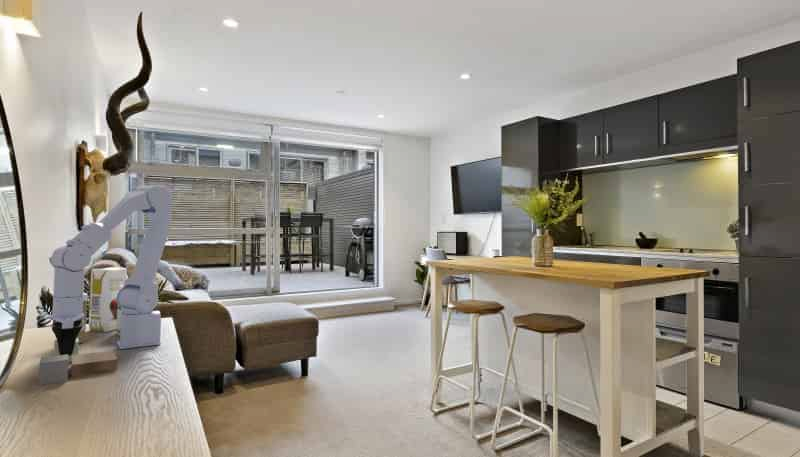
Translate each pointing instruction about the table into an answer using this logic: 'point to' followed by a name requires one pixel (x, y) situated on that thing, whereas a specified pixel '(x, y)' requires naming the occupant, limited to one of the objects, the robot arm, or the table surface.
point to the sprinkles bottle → (83, 321)
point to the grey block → (53, 369)
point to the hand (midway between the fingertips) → (66, 352)
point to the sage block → (75, 352)
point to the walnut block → (93, 363)
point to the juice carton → (105, 298)
